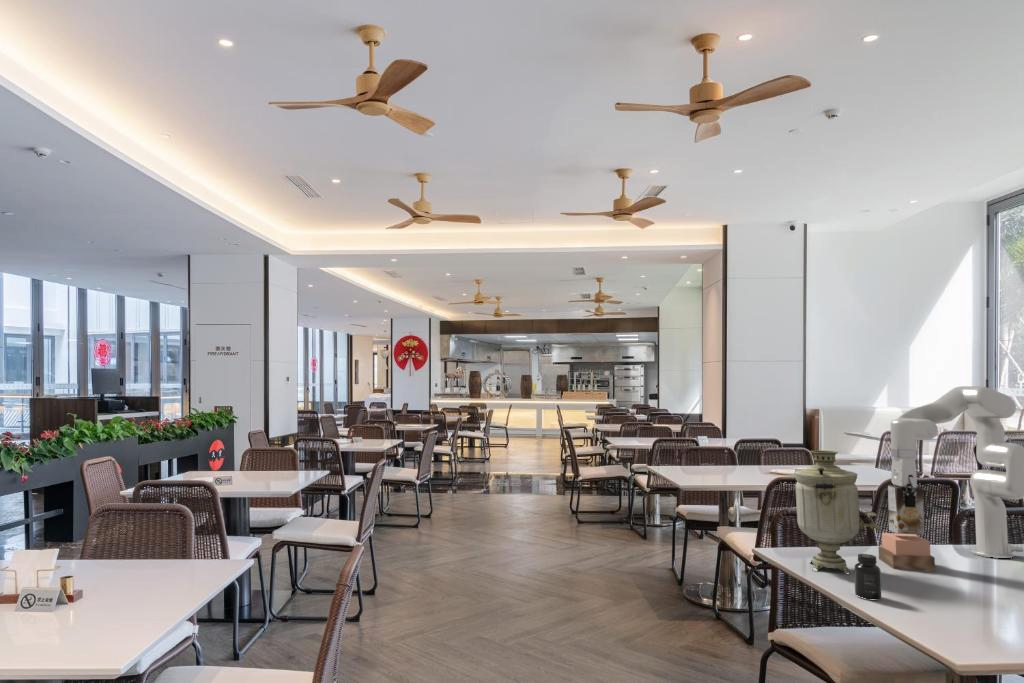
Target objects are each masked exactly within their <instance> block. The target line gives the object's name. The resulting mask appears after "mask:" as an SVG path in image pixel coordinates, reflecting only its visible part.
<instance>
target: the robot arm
mask: <svg viewBox="0 0 1024 683" xmlns="http://www.w3.org/2000/svg"><path fill="white" fill-rule="evenodd" d="M1016 411H1017V405H1016V403H1015V401H1014V400H1013V398H1012V397H1010V396H1009V395H1007V394H1005V393H1002V392H1000V391H997V390H995V389H993V388H990V387H986V386H975V385H973V386H972V385H971V386H968V385H967V386H966V385H964V386H956V387H954V388H951V389H950V390H949V391H948V392H946V393H945V394H943V395H942V396H941V397H939V398H937V399H936V400H935V401H933V402H930V403H926V404H924V405H921V406H918V407H915V408H912V409H910V410H908V411H906V412H904V413H902V414H901V415H900V416H899V417H897V418H896V419H892V420H891V422H890V441H891V442H890V446H891V447H890V448H891V450H890V451H891V452H890V453H891V459H892V460H891V477H890V478H891V483H892V485H897V486H899V487H904V488H905V493H906V495H905V507H916V504H915V495H916V494H915V492H916V488H917V487H918V478H917V476H918V475H917V468H916V467H917V466H916V460H917V445H916V444H917V440H919V441H930V440H932V439H934V438H936V436H938V432H939V429H938V424H945V423H949V422H952V421H954V419H956V418H957V417H958V416H960V415H961V414H963V413H966V415H967V416H969V418H970V419H972V422H973V423H974V426H975V428H976V448H975V449H976V453H975V454H976V460H977V462H978V463H979V464H980V465H983V466H987V467H993V468H1001V469H1005V470H1006V471H1000V470H992V469H977V470H975V471H973V472H972V474H971V475H970V479H969V480H970V481H969V482H970V485H971V490H972V495H973V501H974V516H975V517H974V519H975V521H974V522H975V544H976V547H972V548H971V553H972V554H974V555H977V556H980V557H985V558H990V557H993V558H992V559H998V558H1011V559H1013V558H1014V552H1016V553H1018V552H1019V553H1023V552H1024V547H1023V546H1019V545H1018V546H1017V545H1016V546H1015V545H1011V544H1010V543H1009V541H1008V520H1007V509H1006V508H1007V507H1006V505H1005V503H1004V501H1003V500H1002V498H1005V499H1009V500H1022V499H1023V498H1024V446H1022V445H1021V444H1019V443H1014V442H1006V439H1005V435H1006V434H1005V428H1004V425H1003V424H1002V422H1001V421H1000V420H999V419H1009V418H1011V417H1013V416H1014V414H1015V413H1016ZM908 489H909V490H908ZM1012 557H1013V558H1012Z"/></svg>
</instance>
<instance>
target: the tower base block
mask: <svg viewBox="0 0 1024 683" xmlns="http://www.w3.org/2000/svg"><path fill="white" fill-rule="evenodd" d="M935 558H936V557H935V556H934V555H931V554H930V556H912V555H896V554H894V553H892V552H890V551H889V550H887V549H885V548H883V547H882V545H878V560H880V561H881V562H882V563H884V564H885V565H887V566H888V567H890V568H892V569H894V570H906V569H911V570H910V571H924V570H929V571H928V572H935V571H936V561H935V560H936V559H935Z"/></svg>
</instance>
